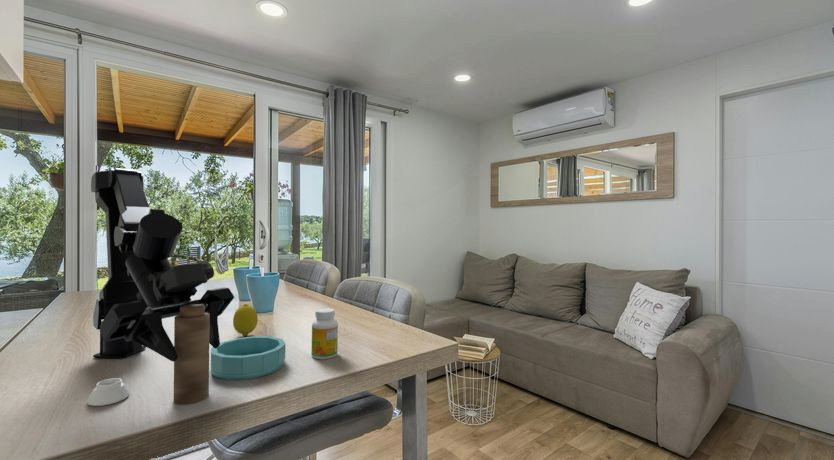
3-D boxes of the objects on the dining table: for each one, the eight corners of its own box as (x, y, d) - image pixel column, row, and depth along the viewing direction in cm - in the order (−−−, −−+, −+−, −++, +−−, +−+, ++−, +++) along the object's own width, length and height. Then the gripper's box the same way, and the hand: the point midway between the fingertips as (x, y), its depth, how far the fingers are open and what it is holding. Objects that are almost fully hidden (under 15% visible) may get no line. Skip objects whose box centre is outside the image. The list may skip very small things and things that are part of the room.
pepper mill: (166, 404, 58) (167, 309, 57) (185, 390, 62) (186, 303, 62) (197, 404, 58) (198, 309, 57) (214, 391, 62) (215, 303, 62)
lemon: (248, 340, 90) (248, 306, 90) (227, 338, 91) (228, 305, 91) (262, 333, 96) (262, 302, 96) (242, 332, 97) (243, 301, 97)
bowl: (195, 379, 67) (196, 356, 67) (232, 354, 80) (232, 335, 80) (268, 380, 67) (268, 358, 67) (293, 355, 80) (293, 336, 80)
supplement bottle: (306, 355, 80) (307, 310, 80) (328, 349, 84) (328, 306, 84) (320, 362, 76) (321, 314, 76) (342, 355, 80) (343, 310, 80)
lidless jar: (115, 407, 57) (136, 393, 62) (115, 388, 57) (136, 375, 62) (79, 409, 56) (102, 394, 61) (79, 389, 56) (102, 376, 61)
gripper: (111, 247, 53) (157, 336, 48) (228, 243, 70) (271, 309, 65) (81, 298, 56) (122, 386, 52) (199, 282, 73) (238, 347, 69)
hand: (197, 352), depth 59 cm, fingers open, 7 cm apart
